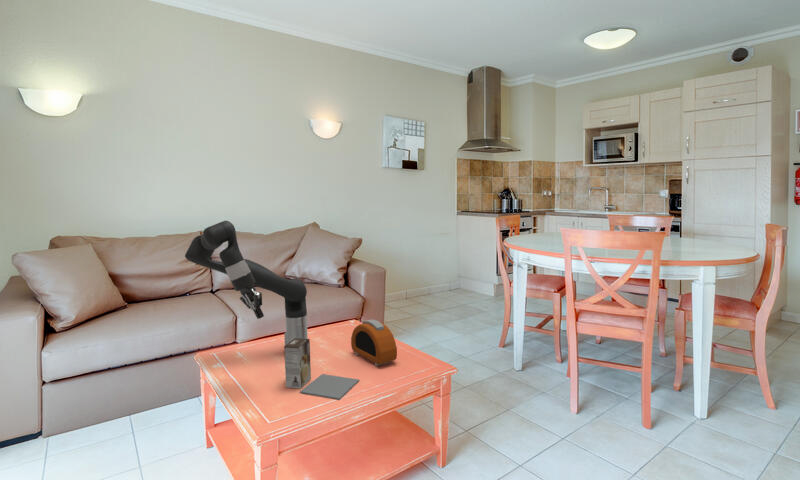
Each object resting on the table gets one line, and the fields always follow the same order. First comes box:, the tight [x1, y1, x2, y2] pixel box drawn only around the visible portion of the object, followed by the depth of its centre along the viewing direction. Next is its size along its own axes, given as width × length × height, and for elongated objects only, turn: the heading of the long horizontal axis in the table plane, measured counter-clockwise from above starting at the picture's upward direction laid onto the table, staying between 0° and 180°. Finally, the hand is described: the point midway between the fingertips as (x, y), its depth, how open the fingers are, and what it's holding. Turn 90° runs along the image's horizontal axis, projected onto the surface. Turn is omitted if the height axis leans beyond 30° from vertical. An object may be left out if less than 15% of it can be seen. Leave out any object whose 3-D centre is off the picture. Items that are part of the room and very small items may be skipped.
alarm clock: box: [350, 319, 398, 367], centre depth 188 cm, size 23×9×17 cm, turn 37°
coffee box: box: [283, 338, 312, 390], centre depth 164 cm, size 9×6×16 cm
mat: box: [299, 373, 360, 401], centre depth 161 cm, size 16×16×1 cm
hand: (260, 317), depth 159 cm, fingers closed
